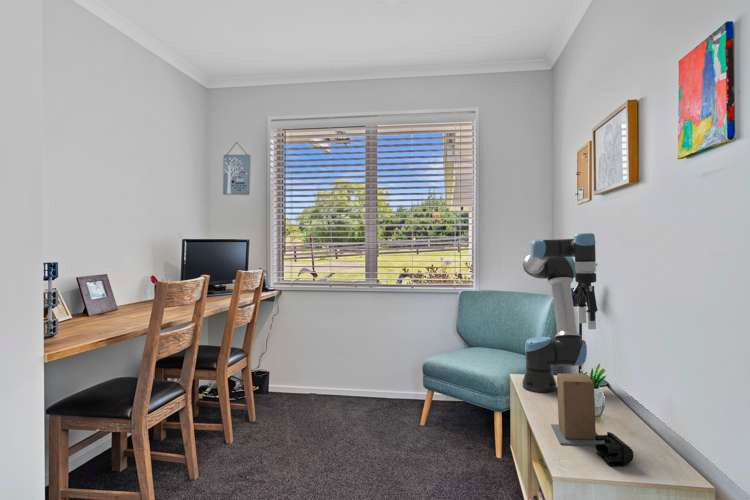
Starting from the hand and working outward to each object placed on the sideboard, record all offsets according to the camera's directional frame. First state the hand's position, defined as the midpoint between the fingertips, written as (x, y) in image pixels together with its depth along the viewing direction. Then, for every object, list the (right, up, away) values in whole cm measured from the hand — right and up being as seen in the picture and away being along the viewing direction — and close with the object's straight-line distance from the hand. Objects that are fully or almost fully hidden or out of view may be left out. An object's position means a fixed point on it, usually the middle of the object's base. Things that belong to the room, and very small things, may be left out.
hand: (587, 326), depth 178 cm
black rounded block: (-9, -36, -37) cm, 52 cm away
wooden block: (-13, -35, -19) cm, 42 cm away
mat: (-13, -35, -19) cm, 42 cm away
